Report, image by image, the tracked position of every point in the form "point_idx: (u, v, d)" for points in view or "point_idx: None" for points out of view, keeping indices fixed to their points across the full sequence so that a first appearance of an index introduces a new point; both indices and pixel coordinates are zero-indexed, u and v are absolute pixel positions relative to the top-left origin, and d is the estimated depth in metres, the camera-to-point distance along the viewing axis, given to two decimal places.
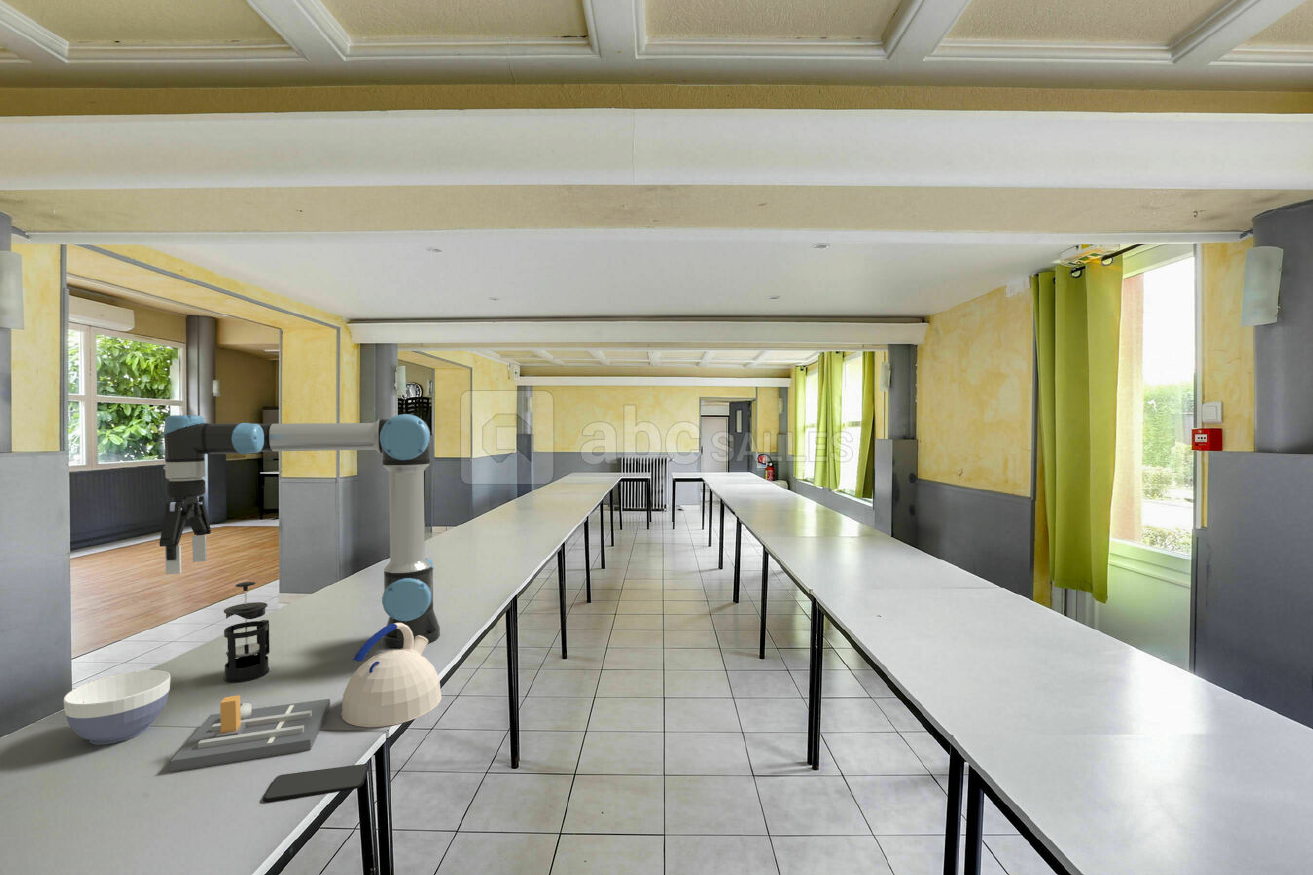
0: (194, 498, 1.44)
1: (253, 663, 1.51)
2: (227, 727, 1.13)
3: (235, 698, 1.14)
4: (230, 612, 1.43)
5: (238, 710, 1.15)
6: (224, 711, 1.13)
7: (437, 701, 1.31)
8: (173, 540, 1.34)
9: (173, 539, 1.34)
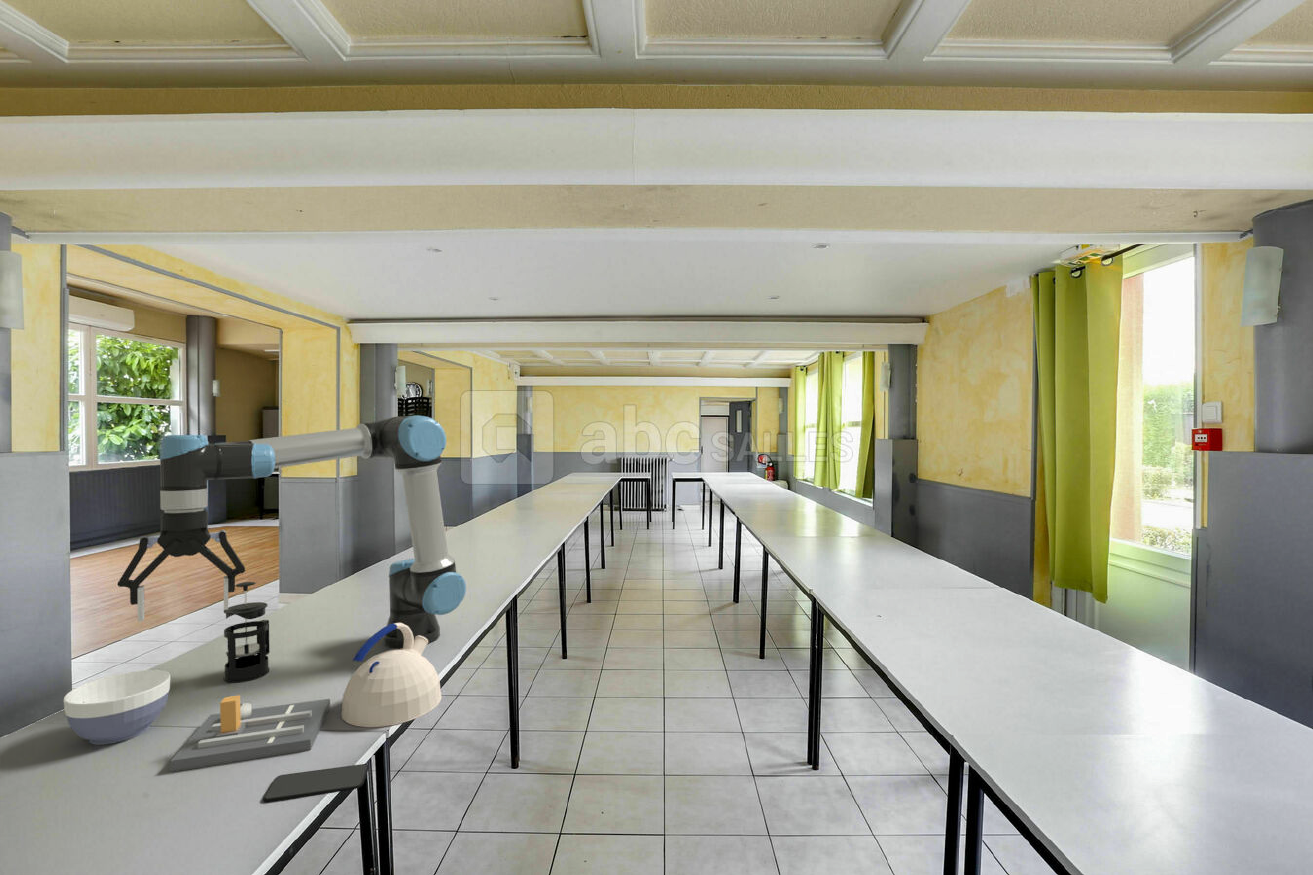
0: (194, 533, 1.21)
1: (253, 663, 1.51)
2: (227, 727, 1.13)
3: (235, 698, 1.14)
4: (230, 612, 1.43)
5: (238, 710, 1.15)
6: (224, 711, 1.13)
7: (437, 701, 1.31)
8: (121, 582, 1.14)
9: (121, 581, 1.15)
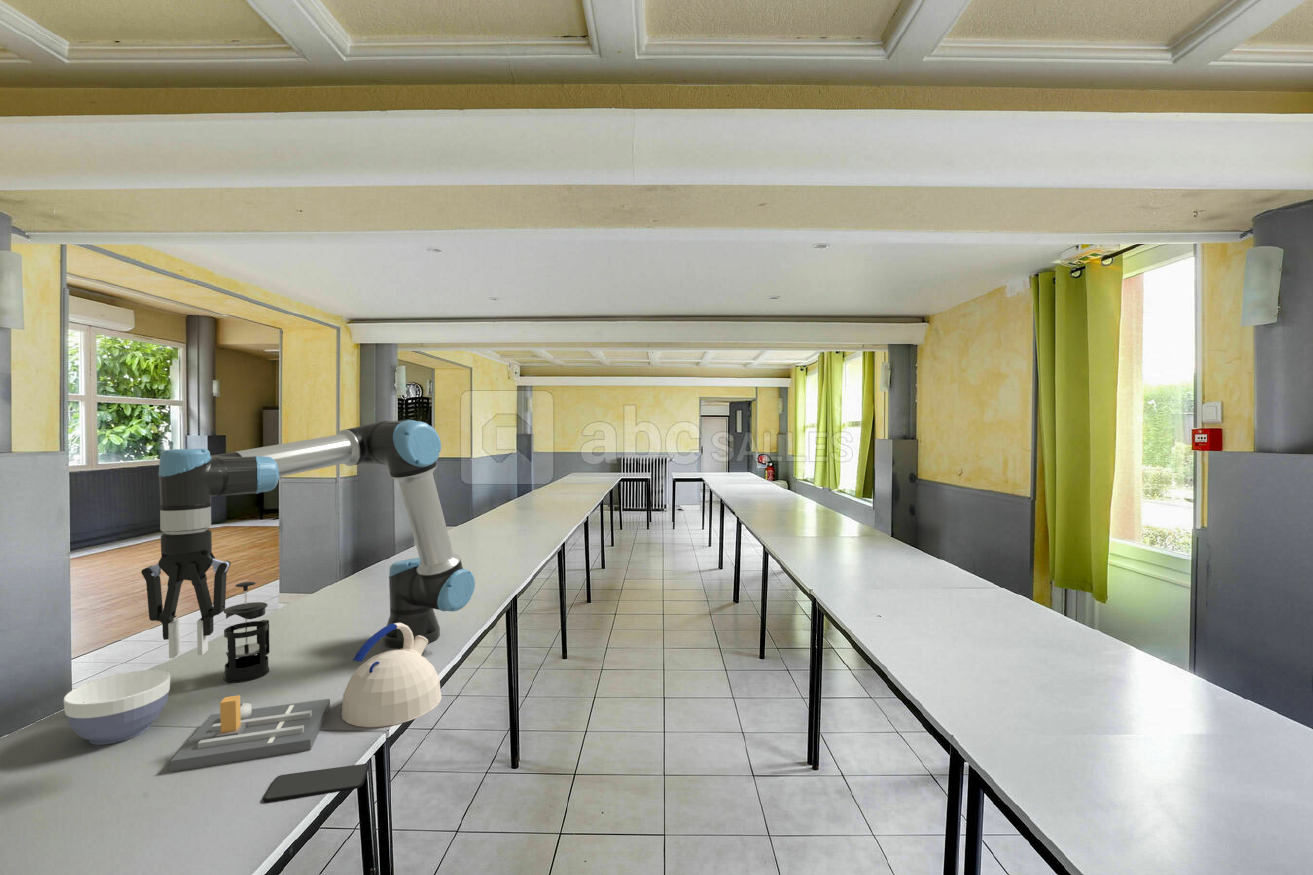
0: (199, 553, 1.11)
1: (253, 663, 1.51)
2: (227, 727, 1.13)
3: (235, 698, 1.14)
4: (230, 612, 1.43)
5: (238, 710, 1.15)
6: (224, 711, 1.13)
7: (437, 701, 1.31)
8: (151, 616, 1.09)
9: (151, 615, 1.09)
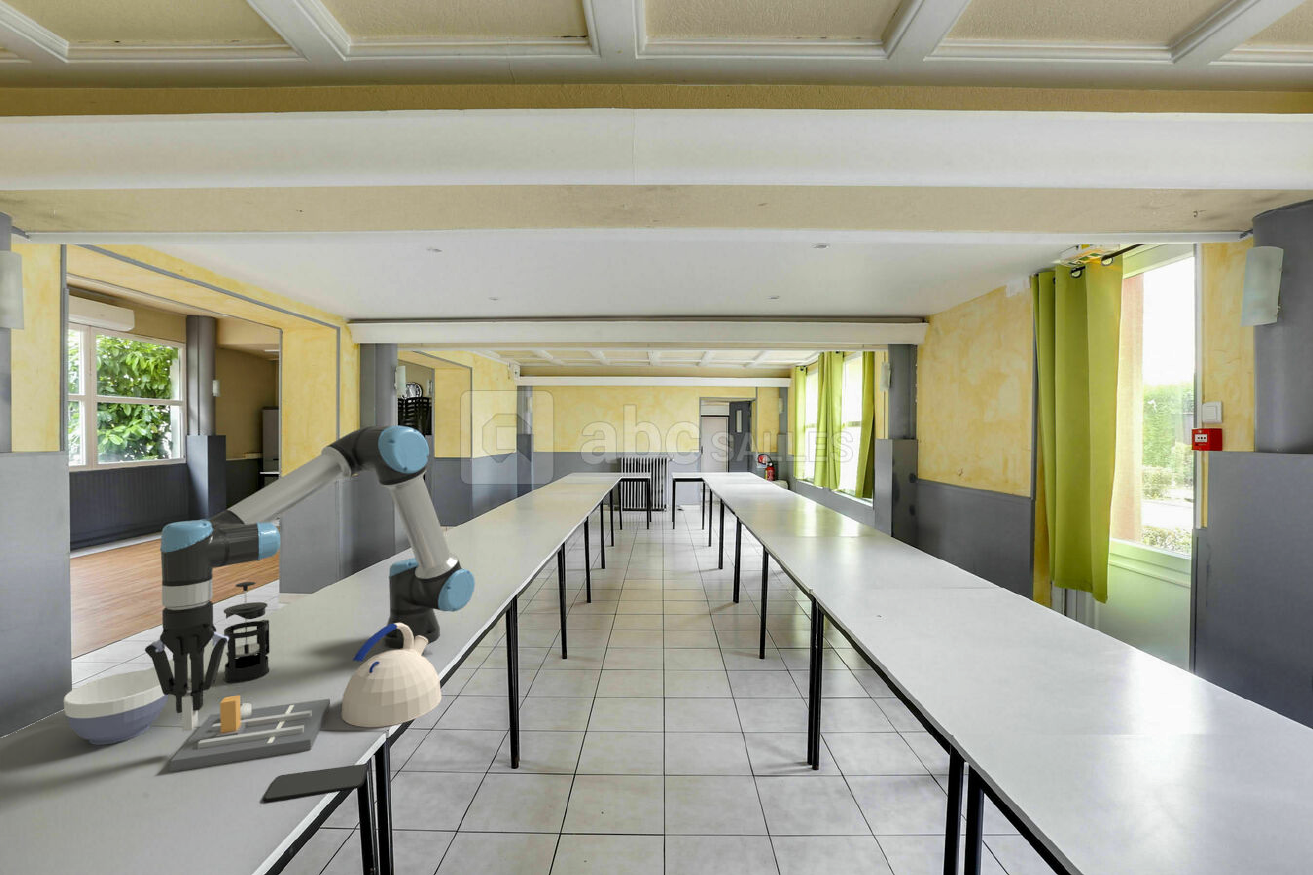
0: (202, 626, 1.12)
1: (253, 663, 1.51)
2: (227, 727, 1.13)
3: (235, 698, 1.14)
4: (230, 612, 1.43)
5: (238, 710, 1.15)
6: (224, 711, 1.13)
7: (437, 701, 1.31)
8: (165, 691, 1.10)
9: (164, 689, 1.10)
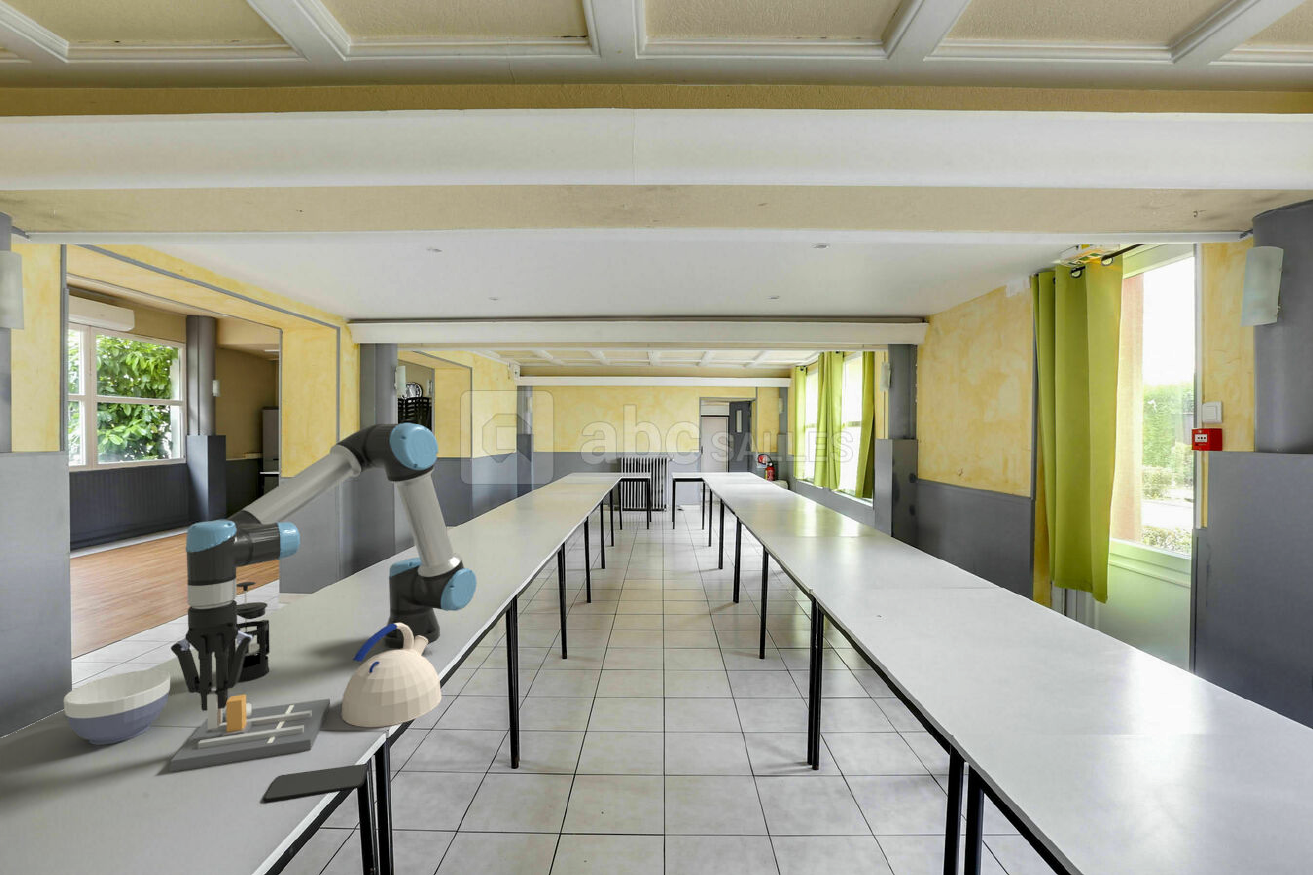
0: (226, 624, 1.13)
1: (253, 663, 1.51)
2: (233, 726, 1.13)
3: (241, 697, 1.15)
4: None
5: (244, 709, 1.15)
6: (230, 710, 1.13)
7: (437, 701, 1.31)
8: (190, 689, 1.11)
9: (190, 687, 1.11)
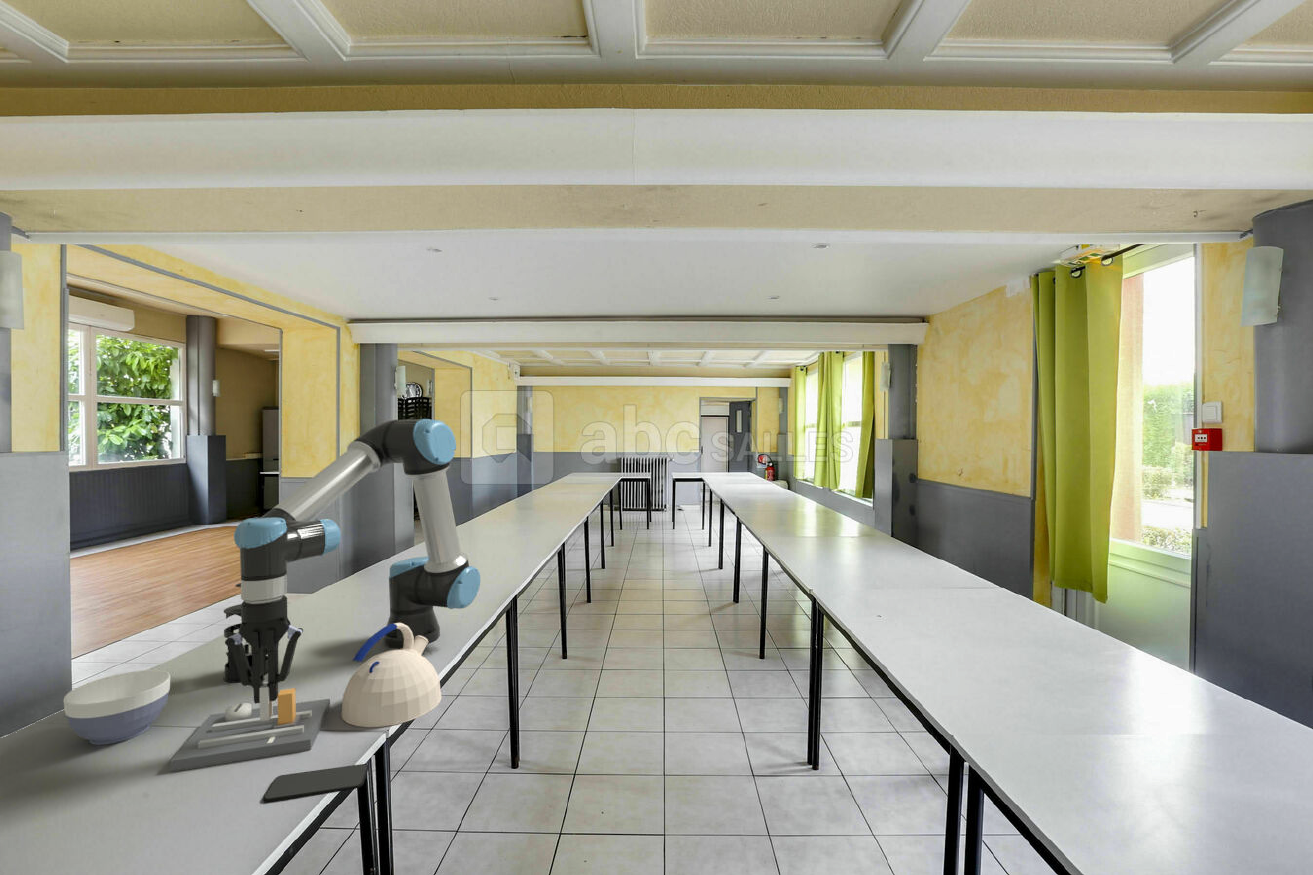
0: (278, 619, 1.16)
1: None
2: (284, 719, 1.16)
3: (291, 691, 1.17)
4: (230, 612, 1.43)
5: (294, 702, 1.18)
6: (281, 703, 1.16)
7: (437, 701, 1.31)
8: (243, 682, 1.14)
9: (243, 680, 1.14)
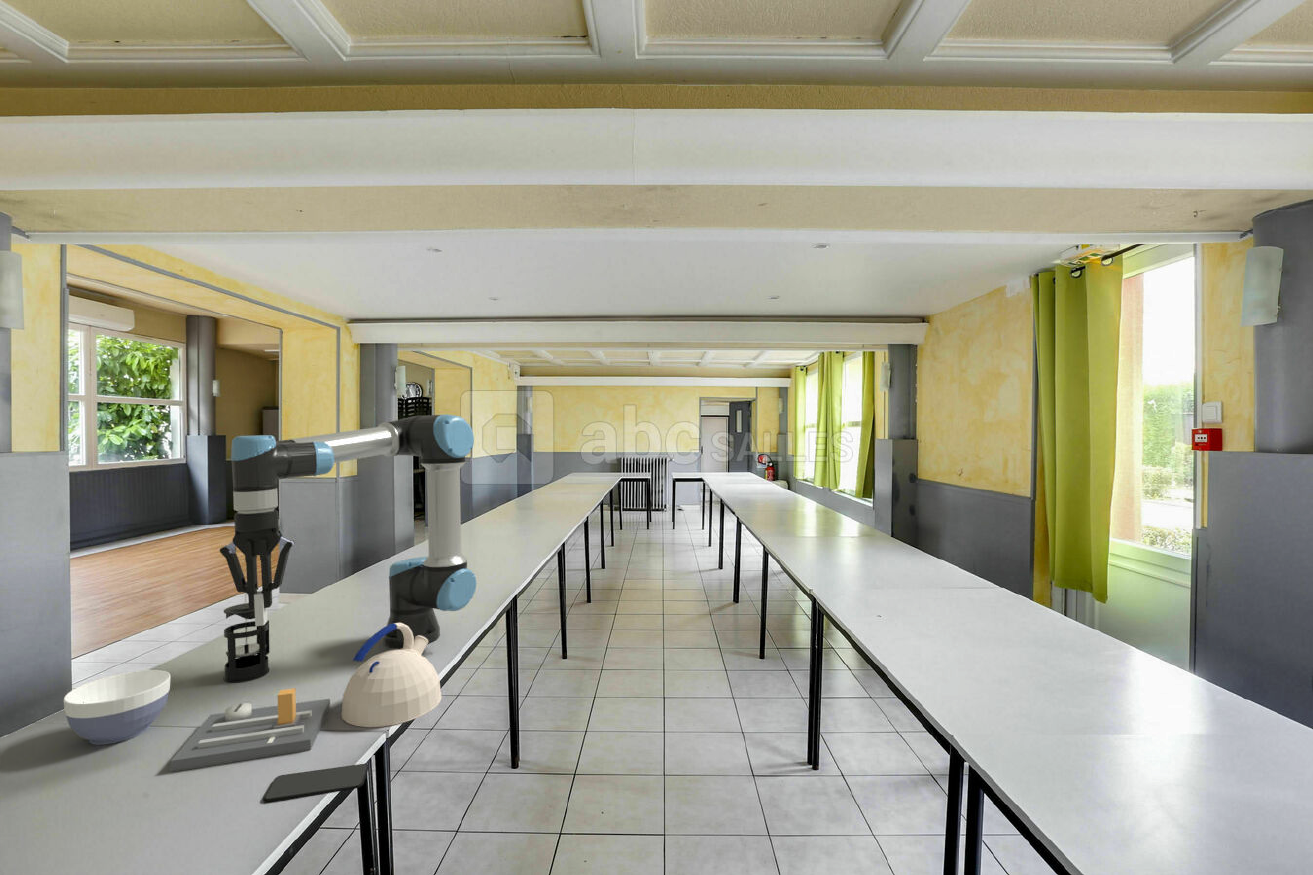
0: (270, 530, 1.22)
1: (253, 663, 1.51)
2: (284, 719, 1.16)
3: (291, 691, 1.17)
4: (230, 612, 1.43)
5: (294, 702, 1.18)
6: (281, 703, 1.16)
7: (437, 701, 1.31)
8: (238, 588, 1.20)
9: (238, 587, 1.20)
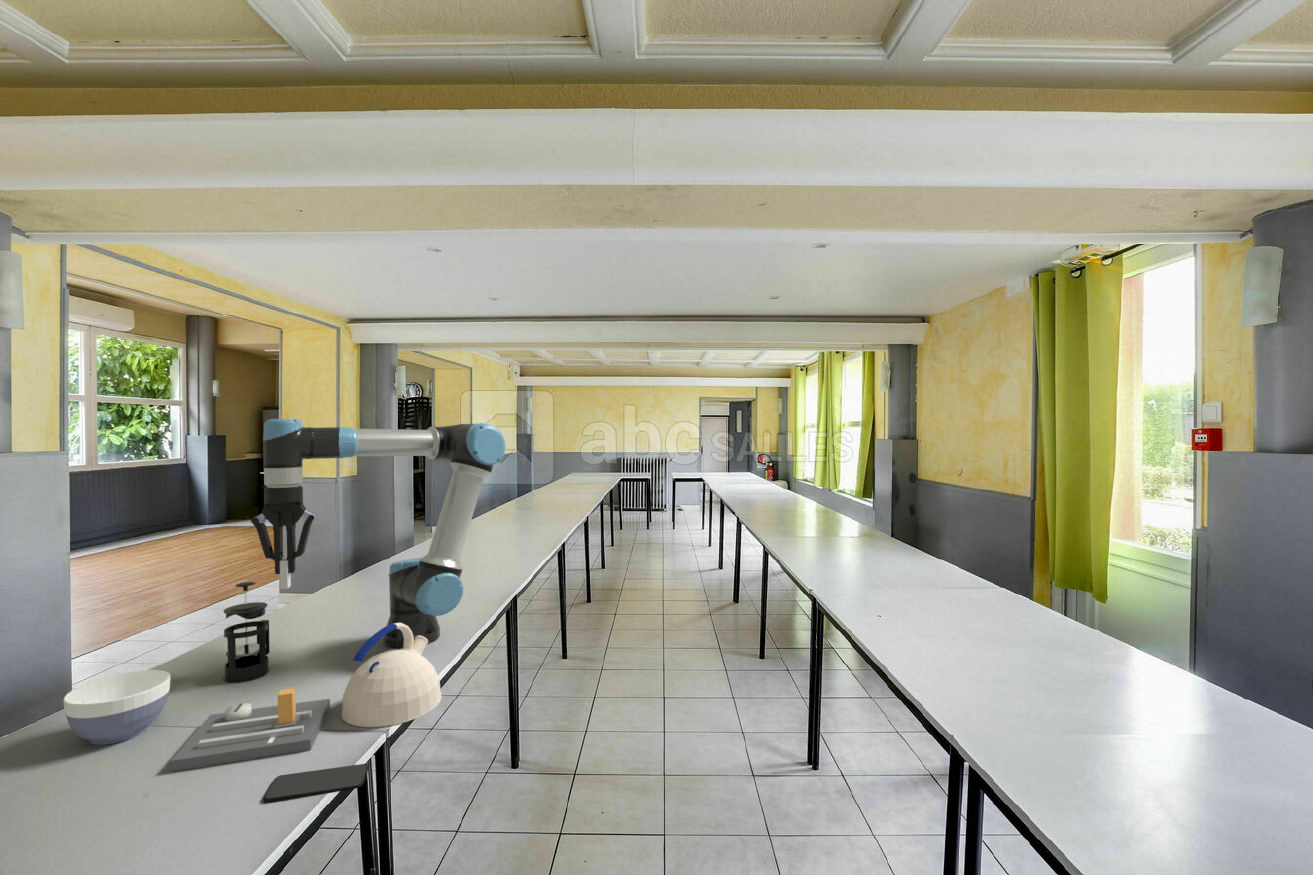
0: (295, 503, 1.36)
1: (253, 663, 1.51)
2: (284, 719, 1.16)
3: (291, 691, 1.17)
4: (230, 612, 1.43)
5: (294, 702, 1.18)
6: (281, 703, 1.16)
7: (437, 701, 1.31)
8: (266, 555, 1.35)
9: (266, 554, 1.35)
